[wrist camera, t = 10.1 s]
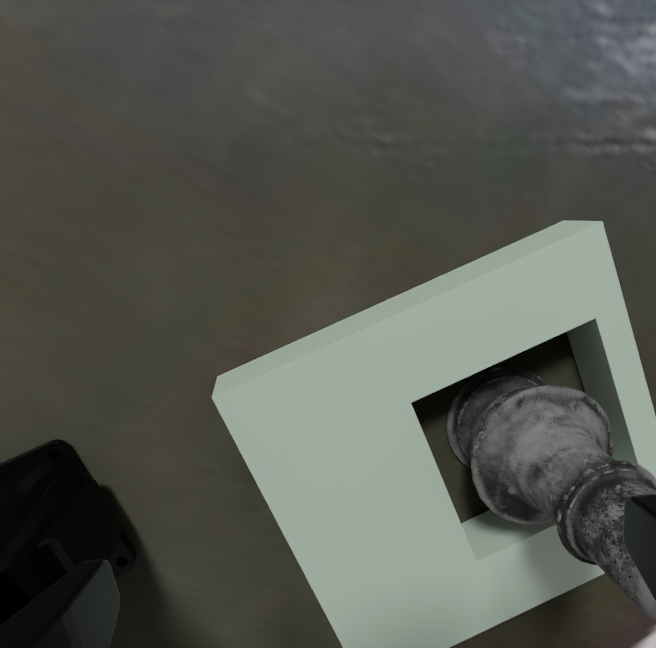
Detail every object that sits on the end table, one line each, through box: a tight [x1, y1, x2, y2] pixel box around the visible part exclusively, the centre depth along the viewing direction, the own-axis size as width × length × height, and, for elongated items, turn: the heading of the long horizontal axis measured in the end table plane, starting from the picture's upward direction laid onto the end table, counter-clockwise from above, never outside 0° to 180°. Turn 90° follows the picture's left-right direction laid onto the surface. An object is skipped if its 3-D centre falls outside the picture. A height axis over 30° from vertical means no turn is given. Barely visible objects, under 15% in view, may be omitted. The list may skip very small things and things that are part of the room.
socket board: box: [212, 221, 656, 648], centre depth 22 cm, size 16×15×2 cm
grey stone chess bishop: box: [446, 366, 656, 621], centre depth 17 cm, size 6×6×12 cm
